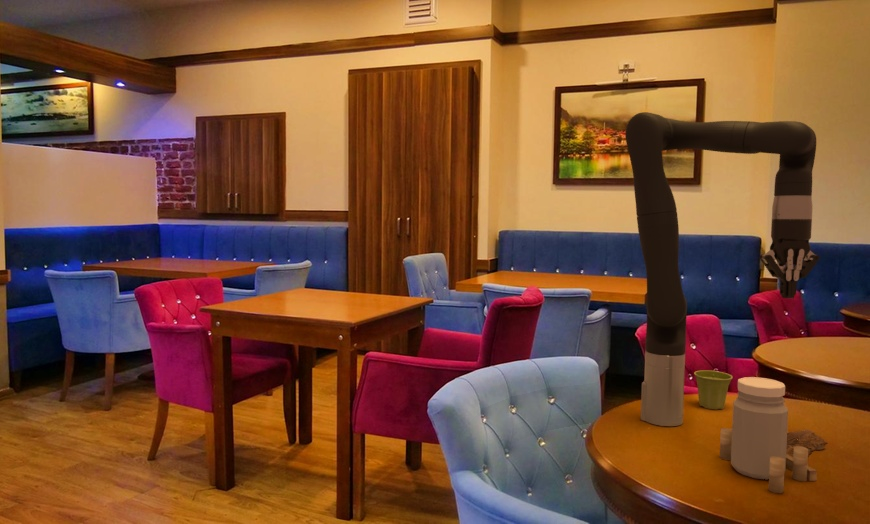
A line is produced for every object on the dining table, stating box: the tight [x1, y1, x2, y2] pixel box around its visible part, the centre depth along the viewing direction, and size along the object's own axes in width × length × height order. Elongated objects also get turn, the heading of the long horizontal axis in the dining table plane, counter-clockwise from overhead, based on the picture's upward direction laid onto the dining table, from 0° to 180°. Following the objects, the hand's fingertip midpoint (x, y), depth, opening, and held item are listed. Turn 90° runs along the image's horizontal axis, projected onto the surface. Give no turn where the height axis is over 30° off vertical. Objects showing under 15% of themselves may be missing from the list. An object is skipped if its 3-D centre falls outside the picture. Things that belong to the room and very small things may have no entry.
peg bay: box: [719, 427, 818, 494], centre depth 126 cm, size 12×18×6 cm, turn 7°
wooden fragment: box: [786, 429, 828, 458], centre depth 142 cm, size 26×11×1 cm, turn 132°
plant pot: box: [693, 369, 733, 410], centre depth 169 cm, size 9×9×9 cm
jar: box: [730, 376, 789, 481], centre depth 126 cm, size 10×10×18 cm
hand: (787, 297), depth 137 cm, fingers closed
